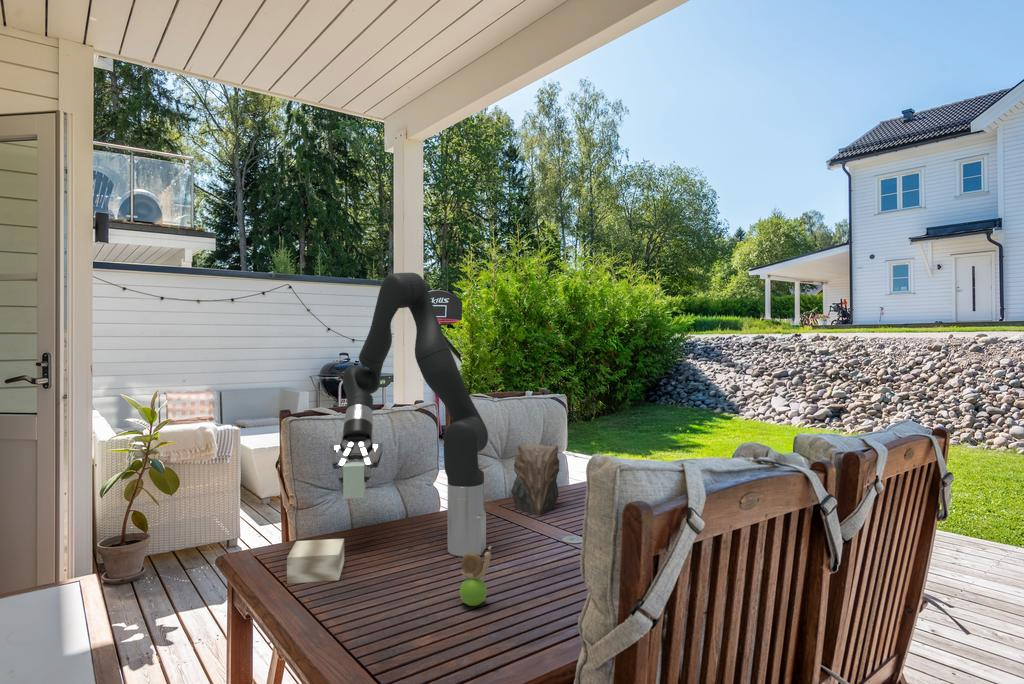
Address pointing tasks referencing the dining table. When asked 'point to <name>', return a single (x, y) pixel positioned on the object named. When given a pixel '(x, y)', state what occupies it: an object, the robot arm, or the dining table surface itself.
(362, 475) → the sage block
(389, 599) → the dining table surface
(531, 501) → the owl
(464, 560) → the snail figurine
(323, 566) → the birch block
